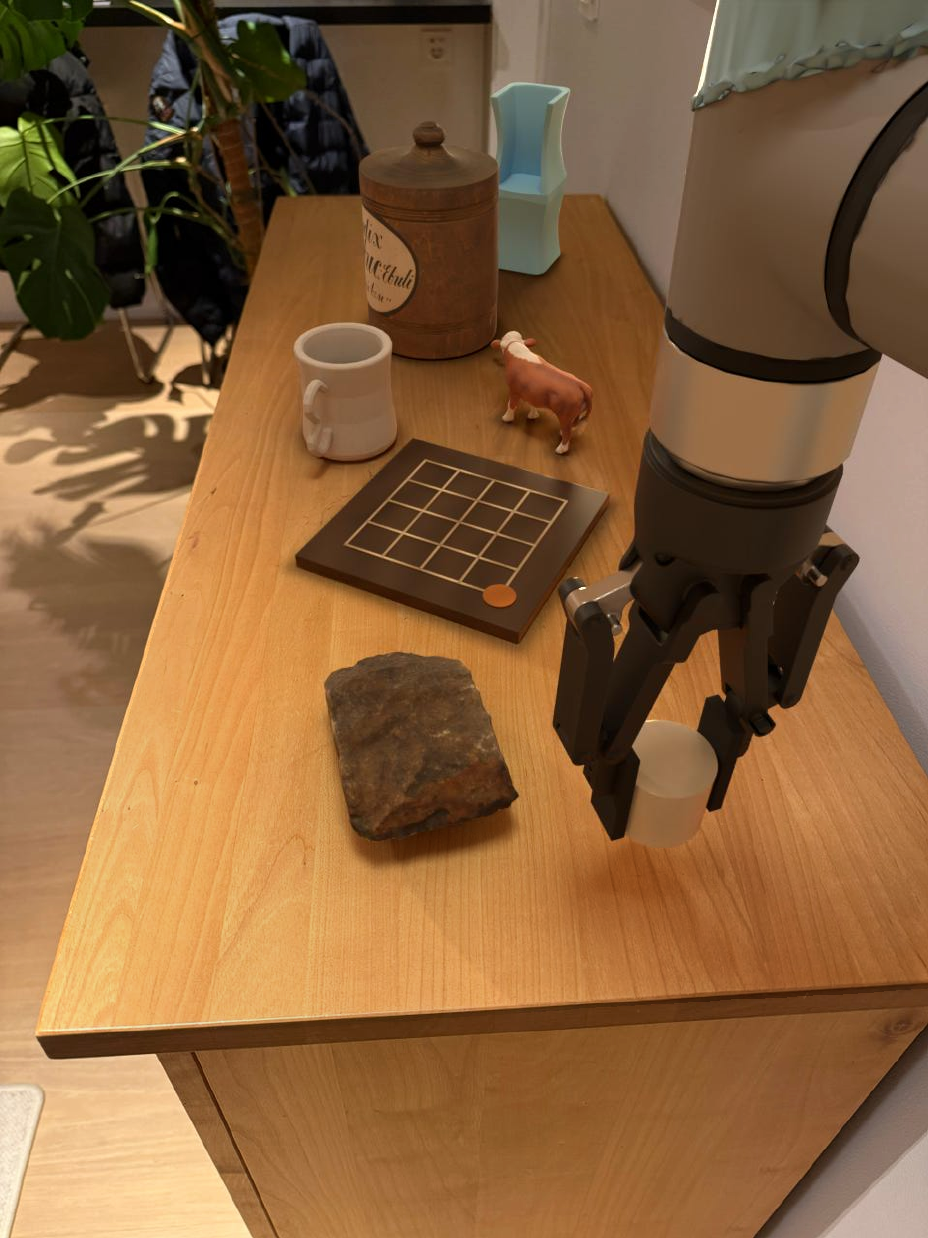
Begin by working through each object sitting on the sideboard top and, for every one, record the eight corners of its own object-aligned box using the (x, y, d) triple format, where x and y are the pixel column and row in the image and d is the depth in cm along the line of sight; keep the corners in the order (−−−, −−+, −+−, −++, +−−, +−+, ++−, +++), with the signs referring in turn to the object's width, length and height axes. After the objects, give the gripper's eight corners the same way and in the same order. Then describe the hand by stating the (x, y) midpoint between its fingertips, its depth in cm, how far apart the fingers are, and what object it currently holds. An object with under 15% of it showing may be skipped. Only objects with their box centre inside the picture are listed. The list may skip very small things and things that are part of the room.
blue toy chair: (485, 266, 120) (489, 96, 107) (506, 245, 126) (512, 80, 112) (542, 276, 118) (553, 103, 104) (560, 254, 123) (574, 87, 110)
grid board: (608, 504, 82) (610, 492, 81) (518, 644, 69) (519, 631, 68) (413, 448, 88) (412, 436, 87) (296, 566, 75) (294, 553, 74)
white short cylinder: (713, 791, 51) (729, 740, 48) (686, 863, 48) (702, 813, 45) (625, 758, 53) (635, 707, 50) (594, 826, 50) (603, 775, 47)
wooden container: (358, 311, 110) (343, 108, 95) (475, 297, 113) (479, 98, 98) (384, 368, 100) (372, 150, 85) (513, 351, 103) (523, 139, 88)
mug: (330, 407, 93) (321, 314, 87) (412, 425, 91) (409, 330, 84) (270, 471, 85) (254, 373, 78) (358, 492, 83) (350, 393, 76)
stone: (467, 681, 66) (461, 619, 62) (524, 831, 55) (521, 767, 52) (330, 713, 65) (315, 651, 61) (361, 873, 54) (345, 810, 50)
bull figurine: (511, 393, 96) (515, 319, 90) (596, 450, 88) (606, 373, 83) (478, 405, 94) (479, 330, 89) (562, 464, 86) (570, 386, 81)
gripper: (882, 360, 39) (761, 717, 55) (486, 429, 35) (477, 795, 51) (1010, 449, 34) (836, 815, 50) (562, 542, 30) (527, 911, 46)
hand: (655, 804), depth 50 cm, fingers closed on white short cylinder, 5 cm apart
